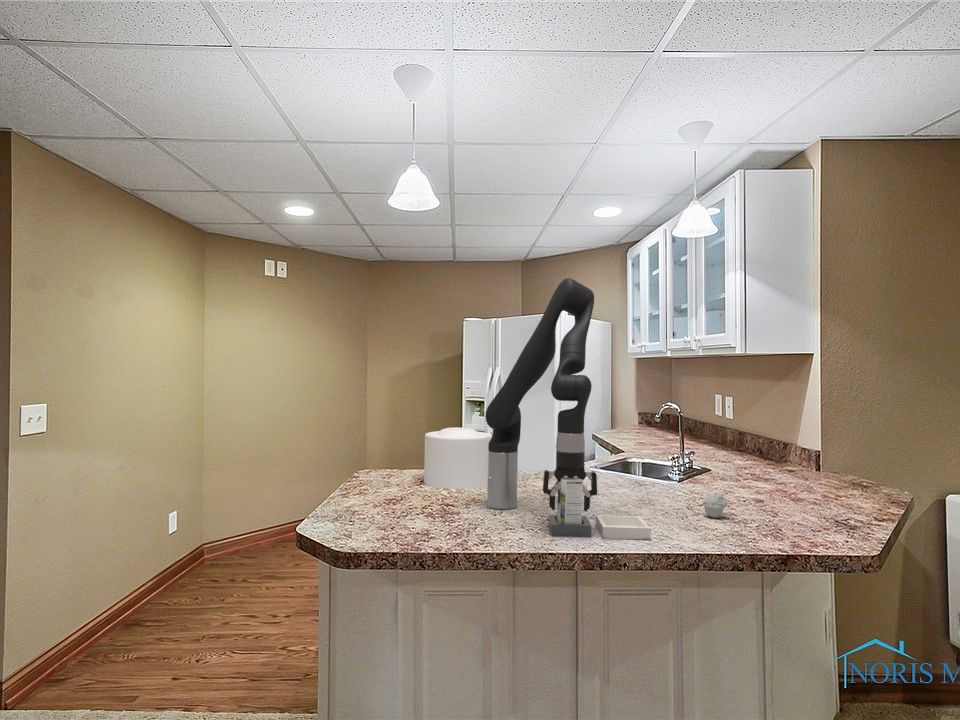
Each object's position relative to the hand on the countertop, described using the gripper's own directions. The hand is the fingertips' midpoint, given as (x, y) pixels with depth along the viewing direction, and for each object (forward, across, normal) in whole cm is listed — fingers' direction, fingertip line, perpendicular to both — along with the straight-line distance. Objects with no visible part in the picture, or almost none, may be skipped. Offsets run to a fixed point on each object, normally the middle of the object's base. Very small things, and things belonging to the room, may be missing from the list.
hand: (569, 510), depth 155 cm
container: (+6, -35, +62) cm, 71 cm away
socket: (+6, 0, 0) cm, 6 cm away
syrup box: (+6, 0, 0) cm, 6 cm away
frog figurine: (+6, +45, +19) cm, 49 cm away
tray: (+6, +14, 0) cm, 15 cm away
